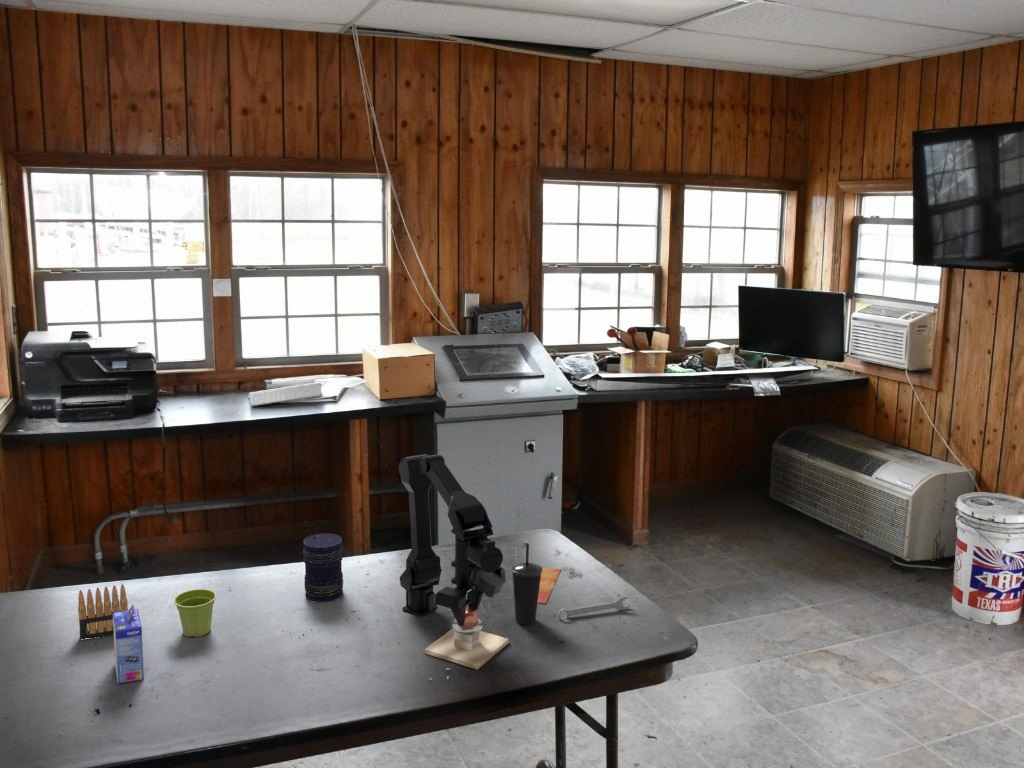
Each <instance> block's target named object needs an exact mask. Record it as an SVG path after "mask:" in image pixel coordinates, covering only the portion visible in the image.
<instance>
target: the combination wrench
mask: <svg viewBox="0 0 1024 768" xmlns="http://www.w3.org/2000/svg"><path fill="white" fill-rule="evenodd" d="M628 599H629V596H626V595H625V596H624V595H621V596H619V597H618V598H617V599H616V600H615V601H612V602H606V603H602V604H601V603H600V604H594V605H588V606H582V607H581V606H580V607H575V608H560V609H559V610H558V612H557V618H559V620H561V621H563V620H567V619H568V618H570V617H572V616H576V615H577V616H578V615H583V614H587V613H593V612H599V611H604V610H611V609H617V610H619V611H625V610H628V608H630V606H631V605H632V604H631V603H628V604H625V605H624V604H623V603H624V601H625V600H628ZM563 612H565V613H566V614H565V616H564V617H562V616H561V614H562V613H563Z"/></svg>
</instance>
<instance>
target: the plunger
mask: <svg viewBox="0 0 1024 768" xmlns="http://www.w3.org/2000/svg"><path fill="white" fill-rule="evenodd" d="M483 626H484V623H483V621H482V619H480V618H479V609H478V610H477V609H476V608H474V607H468V606H466V613H465V621H464V626H460V625H459V624H458V622H457V620H456V618H455V619H454V620H452V623H451V629H454V630H455V631H457V632H461V633H466V634H469V635H470V634H471V633H473V632H477V631H479V630H482V629H483Z"/></svg>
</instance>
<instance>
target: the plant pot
mask: <svg viewBox="0 0 1024 768" xmlns="http://www.w3.org/2000/svg"><path fill="white" fill-rule="evenodd" d="M216 599H217V593H216V592H215V591H213V590H211V589H207V588H205V589H204V588H197V589H195V588H194V589H190V590H186V591H183V592H181V593H179V594H177V595H176V596H175V597H174V599H173V603H174V605H175V606H176V609H177V610H178V614H179V619H180V624H181V628H182V633H183V635H184V636H186V637H189V638H190V637H195V638H199V637H203V636H205V635H207V634H208V633H209V632H210V630H211V629H212V620H213V619H212V617H213V610H214V609H213V608H214V604H215V601H216Z"/></svg>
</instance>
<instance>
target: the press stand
mask: <svg viewBox="0 0 1024 768" xmlns="http://www.w3.org/2000/svg"><path fill="white" fill-rule="evenodd" d="M481 630H482V629H481ZM481 630H479V631H477V632H473V633H471V634H470V635H469V634H466V633H461V632H457V631H455V630H454V629H453V628H451V629H450V630H449V631H447V632H446V633H445V634H443V635H442V636H441V637H439V638H438V639H437V640H435V641H433V642H432V643H431V644H429V645H428V646H427V647H426V648H424V654H425V655H429V656H432V657H436V658H438V659H441V660H446V661H449V662H452V663H456V664H458V665H462V666H464V667H469V668H471V669H474V670H477V671H478V670H479V669H480V668H482V667H483V666H484V665H485V664H486V663H487V662H488V661H489V660H491V659H492V658H493V657H494V656H495V655H496V654H498V653H499V652H500V651H501V650H502V649H503V648H505V647H506V646H507V645H508V644H510V643H509V640H510V638H506V637H503V636H499V635H497V634H493V633H489V632H486V631H481Z"/></svg>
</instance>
